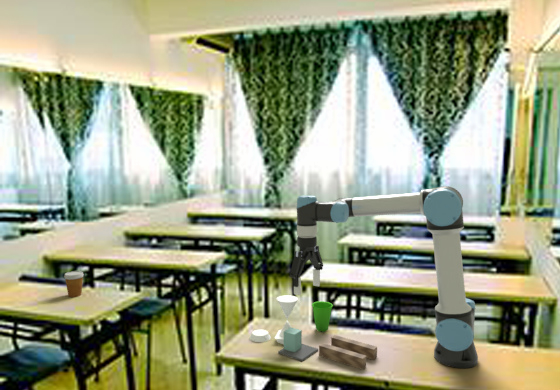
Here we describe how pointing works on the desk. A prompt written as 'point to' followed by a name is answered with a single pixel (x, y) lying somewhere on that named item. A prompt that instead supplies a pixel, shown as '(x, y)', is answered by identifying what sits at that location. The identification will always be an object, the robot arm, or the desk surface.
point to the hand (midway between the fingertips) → (307, 290)
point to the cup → (322, 315)
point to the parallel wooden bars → (348, 351)
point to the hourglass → (287, 306)
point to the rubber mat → (299, 352)
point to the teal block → (292, 339)
